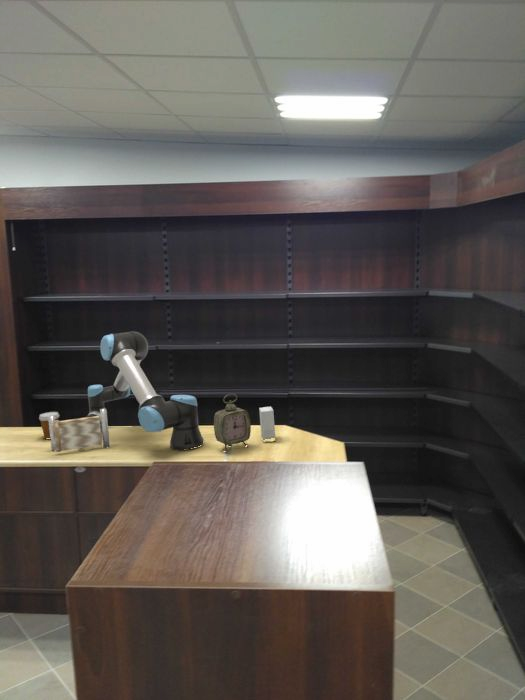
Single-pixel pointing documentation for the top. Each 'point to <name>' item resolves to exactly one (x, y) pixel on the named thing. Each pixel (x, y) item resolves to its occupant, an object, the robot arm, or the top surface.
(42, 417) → the disposable coffee cup
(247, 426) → the tabletop clock
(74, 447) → the gate
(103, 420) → the hinge post
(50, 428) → the post
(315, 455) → the top surface
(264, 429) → the skincare box
